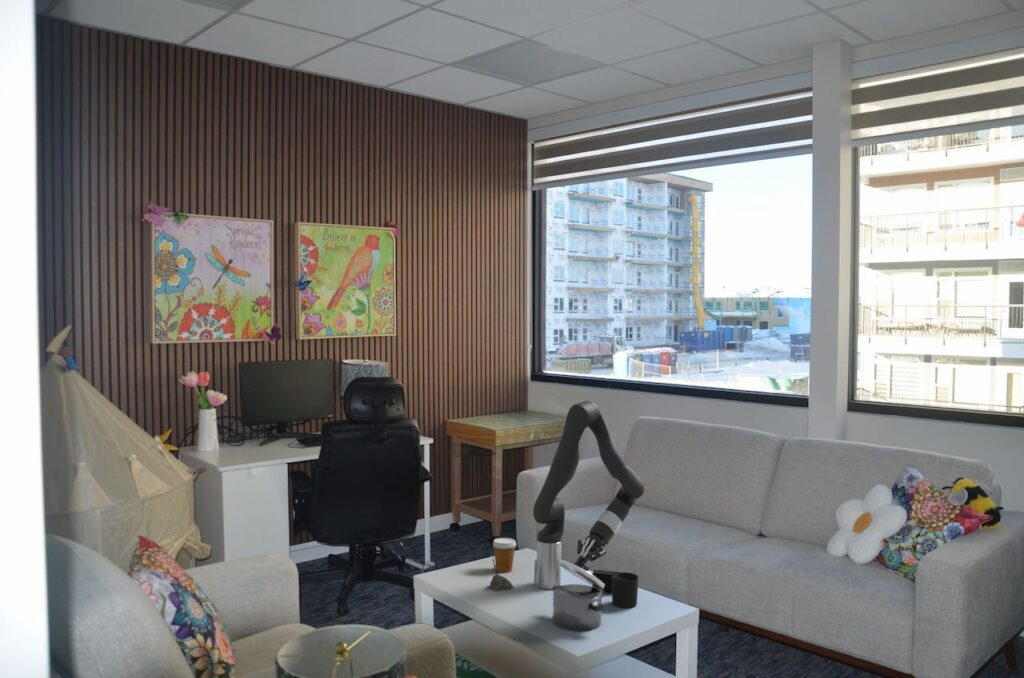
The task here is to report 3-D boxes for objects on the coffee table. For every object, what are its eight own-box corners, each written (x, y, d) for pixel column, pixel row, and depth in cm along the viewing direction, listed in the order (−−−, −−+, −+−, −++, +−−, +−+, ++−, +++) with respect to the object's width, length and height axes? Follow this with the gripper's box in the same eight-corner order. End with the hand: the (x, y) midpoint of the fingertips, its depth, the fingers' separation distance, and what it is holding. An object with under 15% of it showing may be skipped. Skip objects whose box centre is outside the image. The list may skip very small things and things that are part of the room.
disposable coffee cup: (507, 575, 310) (507, 545, 310) (487, 571, 315) (488, 541, 315) (520, 569, 318) (520, 540, 318) (500, 565, 323) (501, 536, 323)
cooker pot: (577, 606, 276) (577, 578, 276) (621, 627, 257) (622, 597, 257) (537, 615, 266) (537, 586, 266) (580, 638, 247) (580, 606, 247)
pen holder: (640, 608, 275) (641, 580, 275) (614, 608, 274) (614, 580, 274) (634, 599, 284) (635, 572, 284) (608, 599, 284) (609, 572, 284)
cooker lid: (581, 581, 273) (585, 574, 274) (614, 595, 259) (618, 587, 260) (548, 557, 265) (553, 550, 266) (581, 570, 251) (585, 562, 252)
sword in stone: (506, 583, 301) (508, 552, 301) (516, 590, 294) (518, 558, 294) (483, 586, 296) (484, 555, 296) (493, 593, 289) (494, 561, 289)
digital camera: (621, 589, 296) (621, 570, 296) (620, 593, 291) (620, 575, 291) (593, 587, 298) (593, 568, 298) (592, 591, 293) (592, 572, 293)
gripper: (587, 516, 272) (558, 556, 264) (613, 524, 261) (583, 565, 254) (598, 530, 275) (570, 569, 267) (624, 538, 264) (595, 580, 257)
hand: (576, 567), depth 261 cm, fingers closed
